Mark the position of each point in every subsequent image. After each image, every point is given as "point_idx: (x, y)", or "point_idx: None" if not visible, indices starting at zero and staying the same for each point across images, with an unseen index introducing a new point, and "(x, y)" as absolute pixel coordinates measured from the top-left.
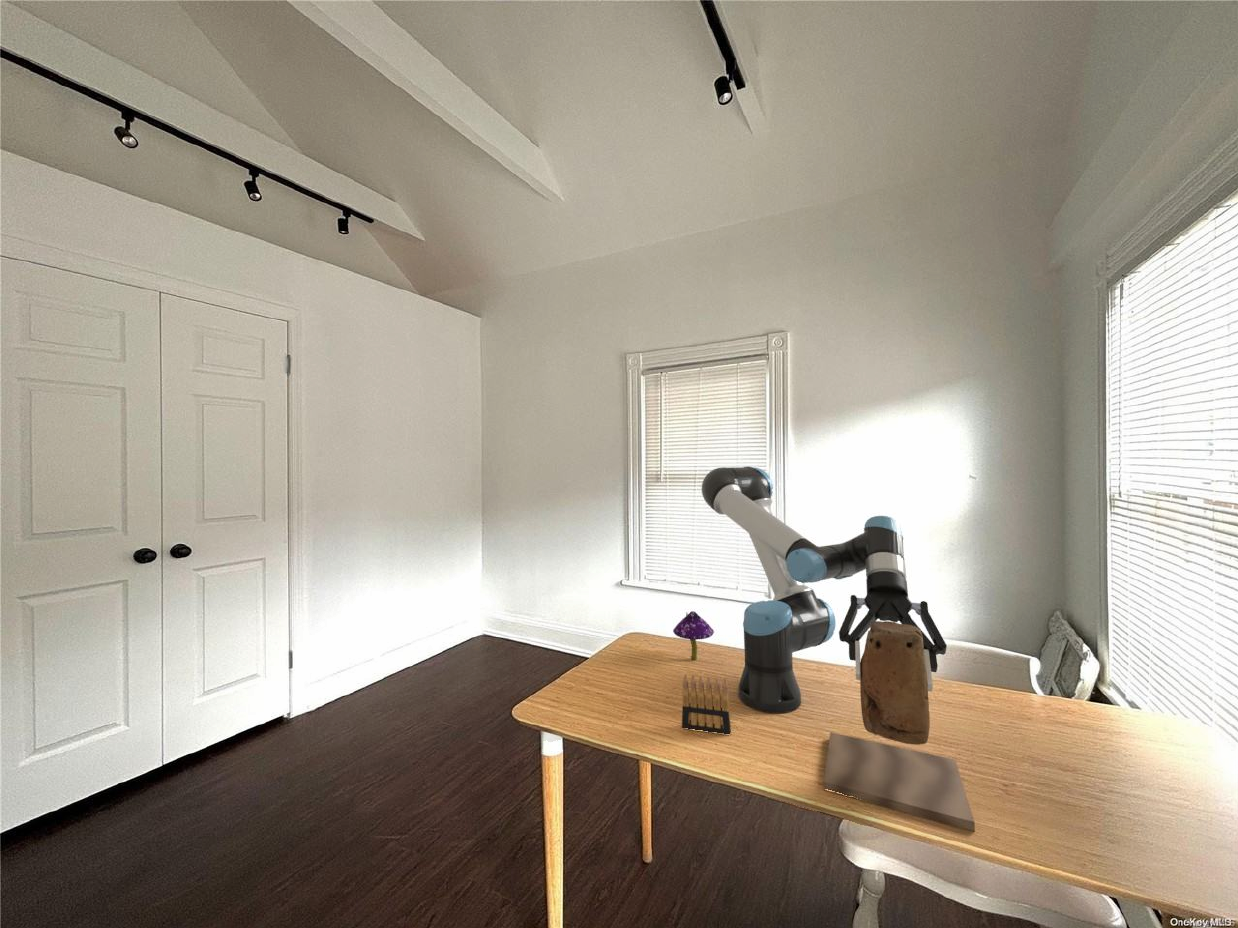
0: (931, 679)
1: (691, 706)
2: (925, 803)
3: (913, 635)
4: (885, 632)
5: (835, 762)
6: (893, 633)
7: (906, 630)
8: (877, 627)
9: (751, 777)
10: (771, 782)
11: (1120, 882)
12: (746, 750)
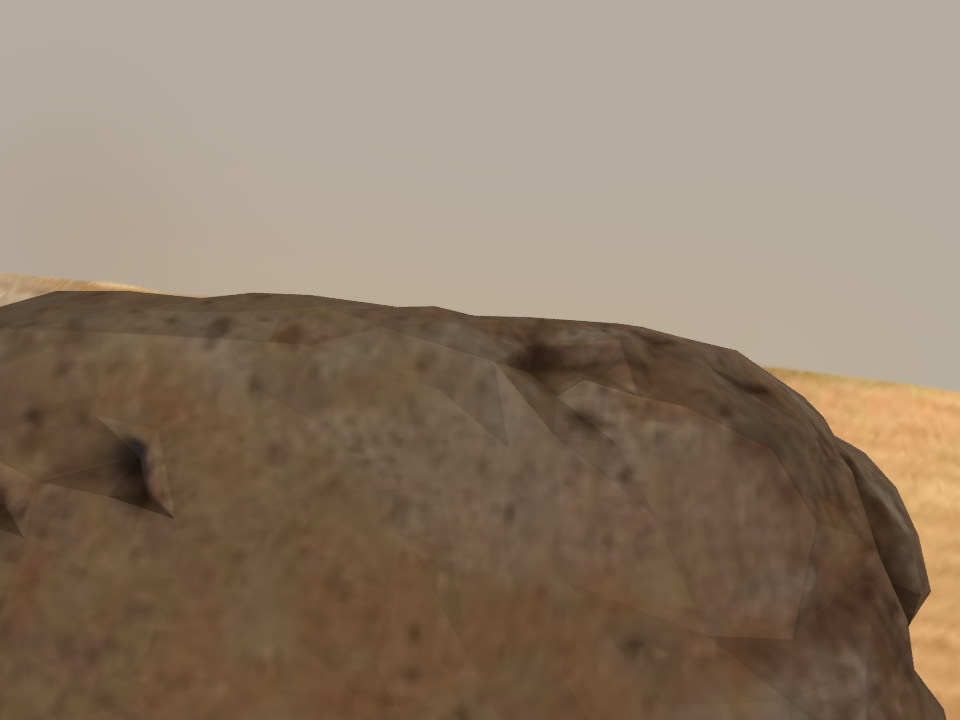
0: None
1: None
2: None
3: (43, 316)
4: (617, 339)
5: None
6: (456, 317)
7: (75, 599)
8: (807, 547)
9: (889, 405)
10: (827, 400)
11: (30, 294)
12: (950, 558)
